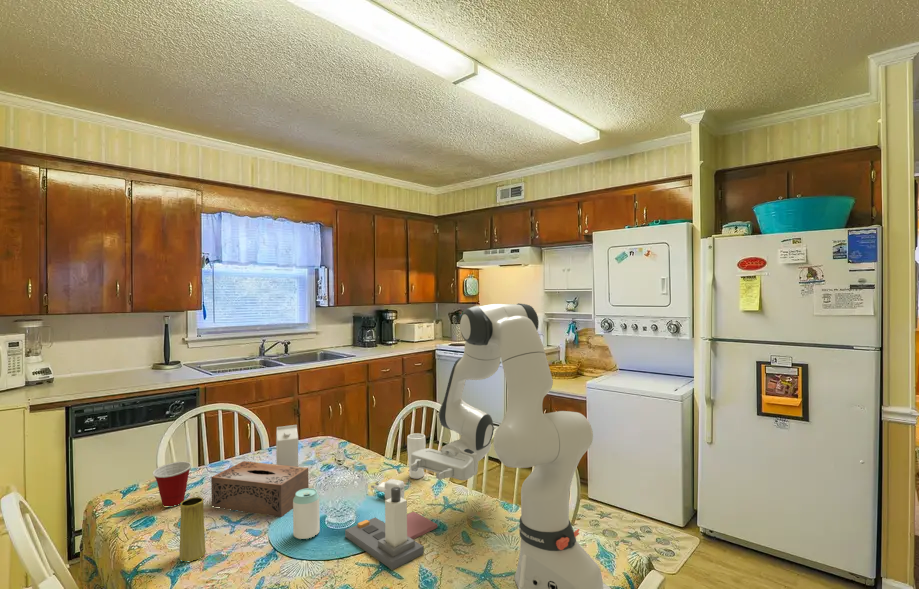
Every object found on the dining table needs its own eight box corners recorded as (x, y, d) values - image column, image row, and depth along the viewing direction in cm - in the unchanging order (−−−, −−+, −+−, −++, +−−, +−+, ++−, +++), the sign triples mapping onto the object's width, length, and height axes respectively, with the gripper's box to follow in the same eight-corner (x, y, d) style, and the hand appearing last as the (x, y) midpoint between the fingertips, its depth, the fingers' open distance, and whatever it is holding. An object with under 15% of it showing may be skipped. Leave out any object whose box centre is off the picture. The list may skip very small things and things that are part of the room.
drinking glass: (422, 480, 168) (422, 439, 168) (405, 479, 169) (404, 438, 169) (428, 473, 174) (427, 433, 174) (410, 472, 176) (410, 432, 176)
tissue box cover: (211, 508, 148) (211, 477, 148) (243, 489, 162) (243, 461, 162) (281, 517, 142) (281, 485, 141) (308, 497, 155) (308, 467, 155)
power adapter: (369, 497, 154) (369, 480, 154) (377, 492, 159) (377, 474, 159) (398, 503, 150) (398, 485, 150) (406, 497, 154) (405, 479, 154)
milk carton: (276, 475, 174) (275, 424, 174) (296, 472, 177) (295, 422, 177) (277, 482, 168) (277, 429, 168) (298, 478, 171) (297, 427, 171)
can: (325, 532, 132) (324, 490, 132) (305, 543, 126) (304, 499, 126) (307, 525, 136) (307, 485, 136) (287, 537, 130) (287, 494, 130)
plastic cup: (144, 510, 147) (143, 472, 147) (172, 495, 157) (172, 460, 157) (172, 513, 144) (172, 475, 144) (199, 498, 155) (199, 462, 155)
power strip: (423, 553, 121) (423, 540, 121) (392, 570, 114) (392, 555, 114) (375, 524, 137) (375, 512, 136) (345, 536, 130) (345, 524, 130)
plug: (407, 553, 121) (406, 488, 121) (394, 560, 118) (394, 493, 118) (398, 548, 124) (397, 484, 124) (385, 554, 121) (384, 488, 121)
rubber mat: (437, 527, 134) (437, 524, 134) (407, 542, 126) (407, 538, 126) (413, 514, 142) (413, 511, 142) (383, 527, 134) (383, 524, 134)
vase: (200, 547, 125) (199, 494, 125) (210, 555, 121) (209, 500, 121) (175, 557, 120) (174, 502, 120) (184, 565, 116) (183, 509, 116)
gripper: (427, 440, 148) (398, 453, 137) (481, 454, 136) (453, 469, 125) (427, 460, 148) (398, 474, 137) (481, 475, 136) (453, 492, 125)
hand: (425, 472), depth 131 cm, fingers open, 8 cm apart
